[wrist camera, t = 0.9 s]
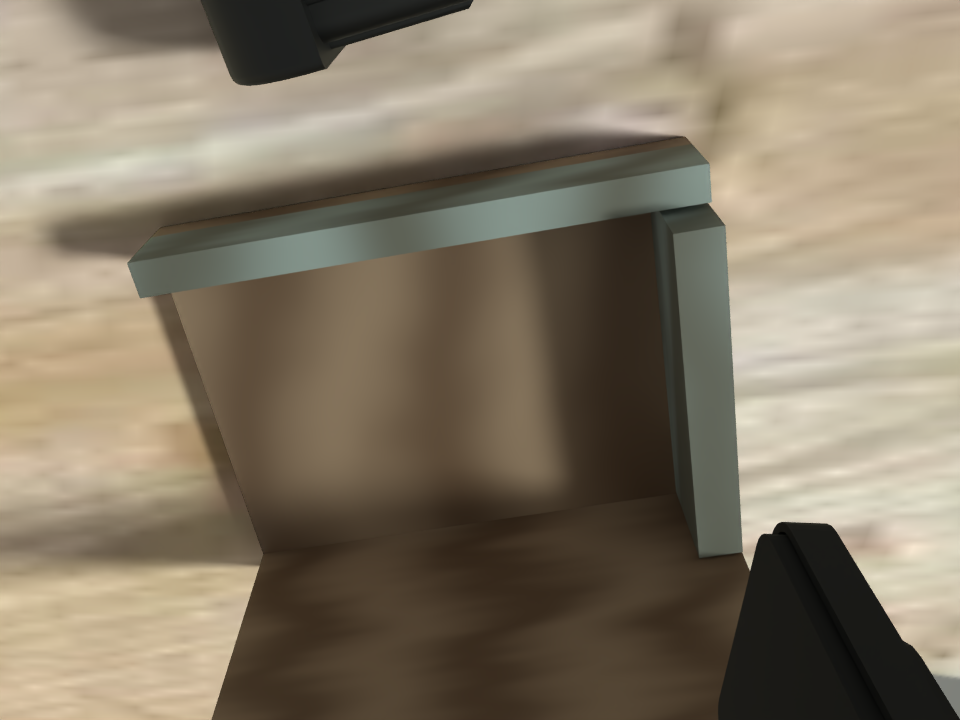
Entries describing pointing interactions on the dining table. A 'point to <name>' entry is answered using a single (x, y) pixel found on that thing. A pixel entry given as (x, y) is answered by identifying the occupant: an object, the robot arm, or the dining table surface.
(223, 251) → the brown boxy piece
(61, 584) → the dining table surface
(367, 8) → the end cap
